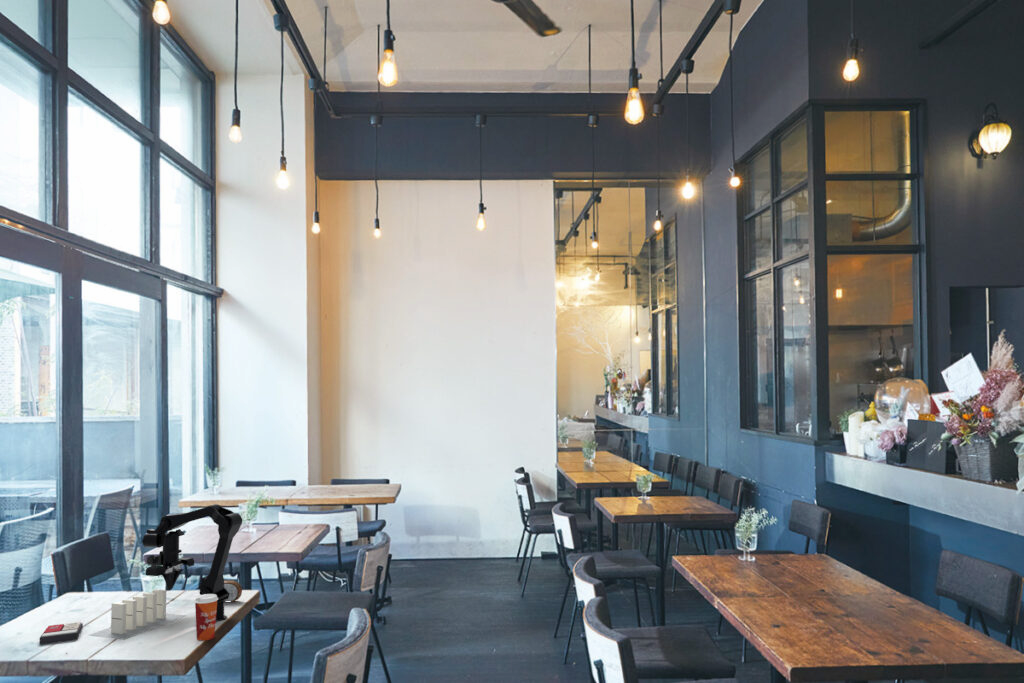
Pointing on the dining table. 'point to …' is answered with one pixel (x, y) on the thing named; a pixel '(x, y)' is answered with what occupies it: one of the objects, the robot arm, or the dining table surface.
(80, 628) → the black and red box
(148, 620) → the domino
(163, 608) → the domino
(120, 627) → the domino
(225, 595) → the robot arm
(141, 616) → the domino
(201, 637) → the paper cup
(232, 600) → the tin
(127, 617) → the domino
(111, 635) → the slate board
